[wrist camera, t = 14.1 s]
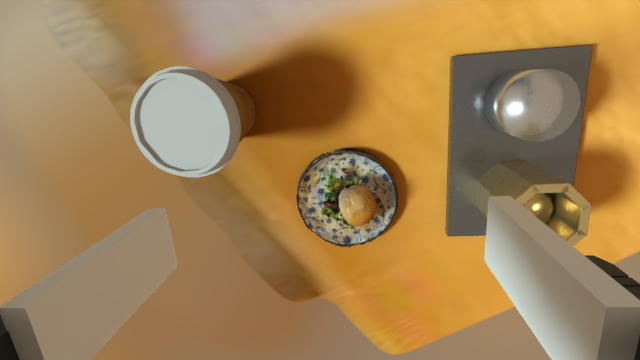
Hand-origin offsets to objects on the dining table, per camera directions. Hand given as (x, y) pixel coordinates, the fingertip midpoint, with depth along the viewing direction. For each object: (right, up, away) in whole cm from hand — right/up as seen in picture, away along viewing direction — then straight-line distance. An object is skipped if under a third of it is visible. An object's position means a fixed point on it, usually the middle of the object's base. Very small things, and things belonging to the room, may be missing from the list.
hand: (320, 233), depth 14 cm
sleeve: (+21, +1, +25) cm, 32 cm away
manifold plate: (+21, +6, +24) cm, 32 cm away
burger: (+3, 0, +28) cm, 28 cm away
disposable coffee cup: (-10, +10, +26) cm, 30 cm away
